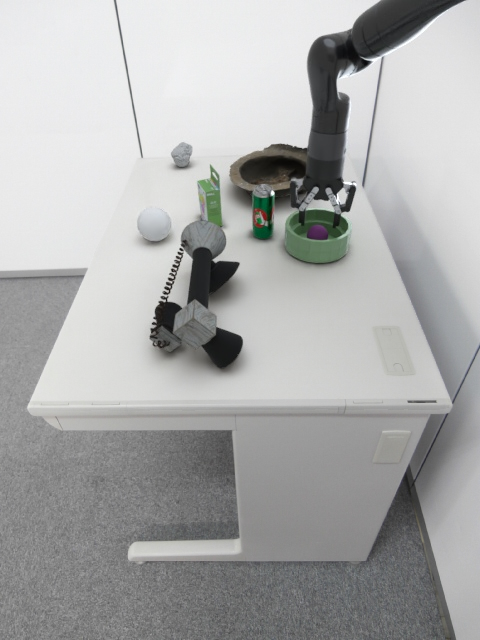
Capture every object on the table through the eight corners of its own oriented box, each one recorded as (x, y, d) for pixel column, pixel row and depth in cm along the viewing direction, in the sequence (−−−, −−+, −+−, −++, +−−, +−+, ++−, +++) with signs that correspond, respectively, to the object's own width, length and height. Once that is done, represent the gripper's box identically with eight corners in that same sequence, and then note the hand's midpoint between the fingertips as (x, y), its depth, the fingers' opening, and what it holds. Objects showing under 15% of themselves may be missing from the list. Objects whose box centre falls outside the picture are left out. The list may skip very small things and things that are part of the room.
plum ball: (327, 239, 103) (329, 221, 100) (326, 251, 100) (328, 232, 96) (306, 238, 104) (308, 220, 101) (304, 249, 100) (306, 231, 97)
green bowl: (348, 232, 106) (352, 210, 102) (346, 268, 96) (351, 244, 92) (288, 227, 109) (289, 205, 105) (280, 261, 98) (281, 238, 94)
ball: (179, 241, 105) (174, 211, 100) (148, 251, 102) (142, 221, 97) (165, 226, 110) (160, 197, 105) (135, 236, 107) (128, 206, 102)
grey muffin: (197, 167, 136) (195, 144, 131) (176, 172, 133) (174, 149, 129) (189, 160, 140) (186, 137, 135) (168, 165, 137) (165, 142, 133)
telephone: (196, 290, 100) (185, 393, 78) (153, 255, 94) (127, 357, 71) (245, 251, 93) (249, 351, 71) (203, 211, 87) (192, 307, 65)
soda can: (267, 227, 109) (268, 181, 101) (277, 237, 106) (279, 190, 97) (248, 232, 107) (248, 186, 99) (258, 242, 104) (259, 195, 96)
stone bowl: (332, 180, 126) (335, 149, 119) (293, 226, 112) (295, 194, 105) (257, 162, 136) (256, 132, 129) (212, 202, 121) (209, 171, 115)
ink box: (199, 216, 114) (195, 166, 105) (214, 213, 115) (211, 163, 105) (207, 229, 109) (203, 178, 100) (222, 226, 110) (220, 175, 101)
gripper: (363, 146, 89) (351, 219, 100) (292, 142, 91) (288, 214, 102) (363, 161, 83) (350, 237, 95) (288, 156, 86) (284, 231, 97)
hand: (318, 225), depth 98 cm, fingers open, 6 cm apart
